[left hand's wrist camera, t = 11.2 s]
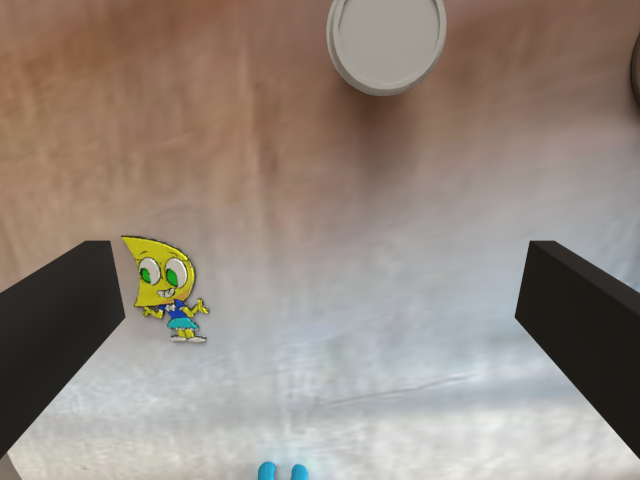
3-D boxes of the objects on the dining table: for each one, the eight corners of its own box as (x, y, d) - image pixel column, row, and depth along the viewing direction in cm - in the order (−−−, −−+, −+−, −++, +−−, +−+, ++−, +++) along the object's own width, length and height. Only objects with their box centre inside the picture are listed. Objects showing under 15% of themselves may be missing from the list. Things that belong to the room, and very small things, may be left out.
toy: (135, 341, 53) (117, 237, 47) (138, 338, 53) (121, 235, 48) (210, 343, 53) (201, 239, 47) (212, 339, 53) (203, 237, 48)
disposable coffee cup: (339, -17, 39) (347, -63, 28) (428, 12, 40) (471, -20, 29) (314, 81, 42) (312, 76, 31) (397, 107, 43) (424, 111, 32)
